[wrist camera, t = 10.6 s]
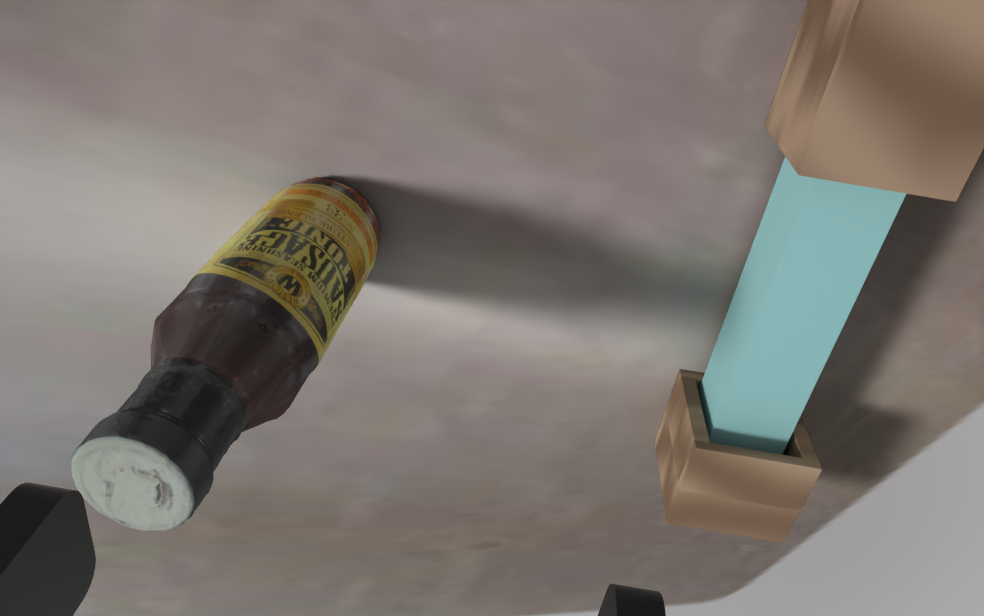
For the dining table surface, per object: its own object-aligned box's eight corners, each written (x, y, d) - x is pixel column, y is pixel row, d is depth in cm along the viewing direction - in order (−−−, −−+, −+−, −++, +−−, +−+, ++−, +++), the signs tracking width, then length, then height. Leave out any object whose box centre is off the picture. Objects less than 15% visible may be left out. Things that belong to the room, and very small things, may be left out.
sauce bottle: (408, 225, 40) (288, 505, 23) (339, 295, 42) (186, 592, 25) (309, 141, 38) (97, 380, 21) (243, 221, 40) (8, 489, 23)
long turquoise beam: (801, 113, 34) (827, 142, 31) (888, 127, 34) (923, 158, 31) (689, 412, 44) (700, 460, 40) (757, 424, 44) (773, 473, 40)
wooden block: (838, -88, 30) (894, -74, 25) (993, -61, 30) (1082, -42, 25) (764, 126, 35) (798, 175, 30) (898, 148, 35) (955, 202, 30)
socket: (679, 369, 43) (696, 448, 37) (789, 388, 43) (822, 469, 37) (654, 440, 46) (666, 522, 40) (757, 457, 46) (783, 542, 40)
